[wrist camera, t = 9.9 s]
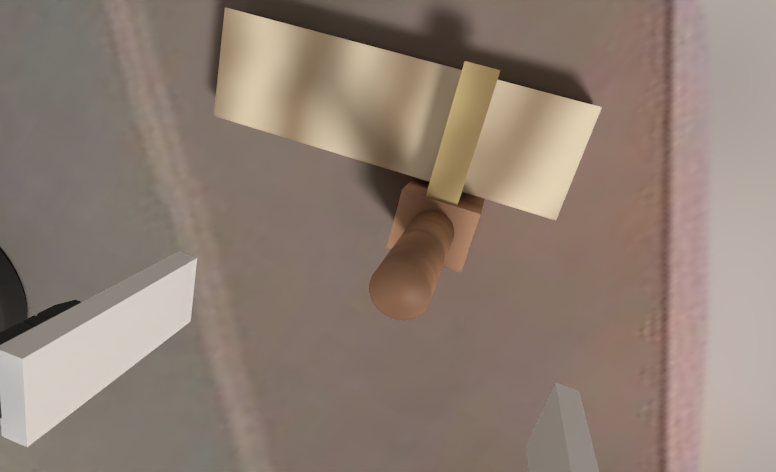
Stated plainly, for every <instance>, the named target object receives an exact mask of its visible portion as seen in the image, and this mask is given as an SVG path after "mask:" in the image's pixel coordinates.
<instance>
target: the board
mask: <svg viewBox="0 0 776 472" xmlns="http://www.w3.org/2000/svg"><path fill="white" fill-rule="evenodd" d="M461 72H462V70H460V69H456V68H452V67H449V66H445V65H441V64H437V63H433V62H430V61H426V60H422V59H418V58H415V57H411V56H407V55H403V54H400V53H396V52H392V51H388V50H384V49H381V48H377V47H373V46H369V45H366V44H362V43H358V42H354V41H351V40H347V39H343V38H339V37H336V36H332V35H328V34H324V33H320V32H317V31H313V30H309V29H305V28H302V27H298V26H294V25H290V24H287V23H283V22H279V21H275V20H271V19H268V18H264V17H260V16H256V15H253V14H249V13H245V12H241V11H237V10H234V9H230V8H226V7H225V11H224V21H223V31H222V40H221V50H220V60H219V70H218V79H217V89H216V99H215V109H214V116H216V117H220V118H223V119H226V120H229V121H233V122H236V123H239V124H242V125H246V126H249V127H252V128H256V129H259V130H262V131H265V132H269V133H272V134H275V135H278V136H282V137H285V138H288V139H291V140H295V141H298V142H301V143H305V144H308V145H311V146H314V147H318V148H321V149H324V150H327V151H331V152H334V153H337V154H341V155H344V156H347V157H350V158H354V159H357V160H360V161H363V162H367V163H370V164H373V165H376V166H380V167H383V168H386V169H390V170H393V171H396V172H399V173H403V174H406V175H409V176H412V177H416V178H419V179H422V180H425V181H429V182H430V179H431V176H432V172H433V169H434V165H435V162H436V159H437V155H438V152H439V148H440V145H441V141H442V138H443V134H444V131H445V127H446V124H447V120H448V117H449V113H450V110H451V106H452V103H453V99H454V96H455V92H456V89H457V86H458V82H459V79H460V75H461ZM601 108H602V107H599V106H596V105H592V104H588V103H584V102H580V101H577V100H573V99H569V98H565V97H562V96H558V95H554V94H550V93H547V92H543V91H539V90H535V89H531V88H528V87H524V86H520V85H516V84H513V83H509V82H505V81H501V80H497V83H496V86H495V89H494V92H493V96H492V99H491V102H490V105H489V108H488V111H487V114H486V118H485V121H484V124H483V127H482V130H481V133H480V137H479V140H478V143H477V146H476V149H475V152H474V155H473V159H472V162H471V165H470V168H469V171H468V174H467V178H466V181H465V184H464V187H463V190H462V192H465V193H468V194H471V195H475V196H478V197H481V198H484V199H488V200H491V201H494V202H497V203H501V204H504V205H507V206H510V207H514V208H517V209H520V210H524V211H527V212H530V213H533V214H537V215H540V216H543V217H546V218H550V219H553V220H556V219H557V217H558V214H559V212H560V209H561V207H562V204H563V202H564V199H565V197H566V194H567V192H568V189H569V187H570V184H571V182H572V180H573V177H574V175H575V172H576V170H577V167H578V165H579V162H580V160H581V157H582V155H583V152H584V150H585V147H586V145H587V143H588V140H589V138H590V135H591V133H592V130H593V128H594V125H595V123H596V120H597V118H598V115H599V113H600V111H601Z"/></svg>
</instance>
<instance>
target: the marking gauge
mask: <svg viewBox="0 0 776 472" xmlns="http://www.w3.org/2000/svg"><path fill="white" fill-rule="evenodd" d="M499 73H500V70H497V69H494V68H490V67H486V66H482V65H478V64H474V63H471V62H467V61H464V65H463V68H462V72H461V75H460V79H459V82H458V86H457V89H456V92H455V96H454V99H453V103H452V106H451V110H450V113H449V117H448V120H447V124H446V127H445V131H444V134H443V138H442V141H441V145H440V148H439V152H438V155H437V159H436V162H435V165H434V169H433V172H432V176H431V179H430V182H428V181H425V180H421V179H418V178H415V177H414V178H413V179H412V180H411V181H410V182H409V183H408V184H407V185H406V186H405V187H404V188H403V189H402V191H401V195H400V199H399V202H398V206H397V210H396V214H395V217H394V221H393V225H392V229H391V232H390V236H389V240H388V244H387V247H386V248H389V249H391V250H390V252H389V253H388V255H387V256H386V257H385V259H384V260H383V262H382V263H381V264H380V266H379V267H378V269H377V270H376V271H375V273H374V274H373V276H372V278H371V280H370V284H369V292H370V297H371V299H372V301H373V303H374V305H375V306H376V308H377V309H378V310H379V311H380V312H381V313H383V314H384V315H386V316H388V317H390V318H393V319H396V320H410V319H414V318H416V317H418V316H419V315H421V314H422V313H423V312H424V311H425V310H426V309H427V307H428V305H429V302H430V300H431V297H432V294H433V292H434V289H435V286H436V284H437V281H438V278H439V276H440V273H441V270H442V268H443V267H446V268H449V269H452V270H455V271H458V272H461V271H462V268H463V265H464V262H465V259H466V256H467V253H468V250H469V247H470V244H471V241H472V239H473V236H474V233H475V230H476V227H477V224H478V221H479V218H480V215H481V211H482V207H483V203H484V198H480V197H477V196H474V195H470V194H467V193H464V192H462V190H463V187H464V184H465V181H466V178H467V174H468V171H469V168H470V165H471V162H472V159H473V155H474V152H475V149H476V146H477V143H478V140H479V137H480V133H481V130H482V127H483V124H484V121H485V118H486V114H487V111H488V108H489V105H490V102H491V99H492V96H493V92H494V89H495V86H496V83H497V80H498V77H499Z"/></svg>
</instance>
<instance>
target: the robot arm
mask: <svg viewBox="0 0 776 472" xmlns="http://www.w3.org/2000/svg"><path fill="white" fill-rule="evenodd" d="M196 264H197V258H196V257H193V256H190V255H187V254H184V253H182V252H179V251H178V252H176V253H175V254H173V255H171V256H169V257H167V258H165V259H163V260H161V261H159V262H157V263H155V264H154V265H152V266H150V267H148V268H146V269H144V270H142V271H140V272H138V273H136V274H135V275H133V276H131V277H129V278H127V279H125V280H123V281H121V282H119V283H117V284H116V285H114V286H112V287H110V288H108V289H106V290H104V291H102V292H100V293H98V294H96V295H95V296H93V297H91V298H89V299H87V300H85V301H83V302H80V301H77V300H73V301H69V302H65V303H61V304H57V305H54V306H52V307H50V308H48V309H46V310H44V311H42V312H40V313H38V315H37V316H35V315H34V316H32V317H30V318H28V319H27V305H26V299H25V295H24V292H23V289H22V286H21V283H20V281H19V279H18V277H17V275H16V273H15V271H14V269H13V267H12V266H11V264H10V262H9V261H8V259H7V258H6V257H5V255H4V254H3V253H2V252H1V250H0V419H1V431H2V436H3V437H5V438H7V439H9V440H12V441H14V442H16V443H19V444H21V445H23V446H26V447H28V446H29V445H31V444H32V443H33V442H35V441H36V440H37V439H38V438H40V437H41V436H42V435H44V434H45V433H46V432H48V431H49V430H50V429H51V428H53V427H54V426H55V425H57V424H58V423H59V422H61V421H62V420H63V419H64V418H66V417H67V416H68V415H70V414H71V413H72V412H74V411H75V410H76V409H77V408H79V407H80V406H81V405H83V404H84V403H85V402H87V401H88V400H89V399H90V398H92V397H93V396H94V395H96V394H97V393H98V392H99V391H101V390H102V389H103V388H105V387H106V386H107V385H109V384H110V383H111V382H112V381H114V380H115V379H116V378H118V377H119V376H120V375H122V374H123V373H124V372H125V371H127V370H128V369H129V368H131V367H132V366H133V365H135V364H136V363H137V362H138V361H140V360H141V359H142V358H144V357H145V356H146V355H148V354H149V353H150V352H151V351H153V350H154V349H155V348H157V347H158V346H159V345H161V344H162V343H163V342H164V341H166V340H167V339H168V338H170V337H171V336H172V335H174V334H175V333H176V332H177V331H179V330H180V329H181V328H183V327H184V326H185V325H186V324H188V323H189V322H190V321H191V312H192V303H193V293H194V283H195V274H196ZM526 450H527V465H528V472H599V469H598V465H597V461H596V457H595V453H594V449H593V445H592V441H591V437H590V433H589V429H588V425H587V421H586V417H585V413H584V409H583V405H582V401H581V397H580V393H579V390H576V389H573V388H570V387H567V386H564V385H561V384H559V383H556V382H555V385H554V387H553V389H552V391H551V393H550V395H549V397H548V399H547V402H546V404H545V406H544V408H543V410H542V412H541V414H540V417H539V419H538V421H537V423H536V425H535V427H534V429H533V431H532V434H531V436H530V438H529V440H528V442H527V444H526Z"/></svg>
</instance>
